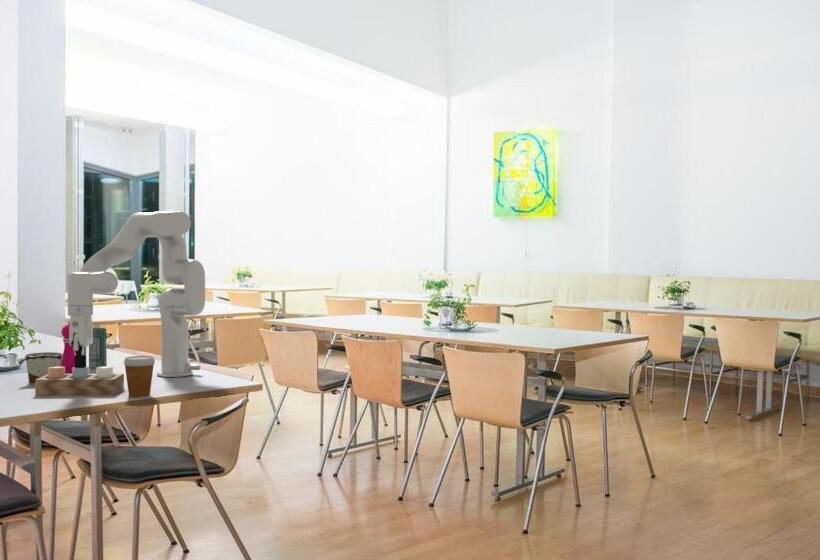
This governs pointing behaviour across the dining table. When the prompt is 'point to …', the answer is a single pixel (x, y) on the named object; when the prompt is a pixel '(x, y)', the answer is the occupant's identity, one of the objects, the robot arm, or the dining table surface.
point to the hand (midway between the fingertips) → (80, 367)
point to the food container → (41, 364)
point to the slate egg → (80, 372)
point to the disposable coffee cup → (139, 375)
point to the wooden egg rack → (79, 385)
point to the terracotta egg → (56, 372)
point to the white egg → (104, 372)
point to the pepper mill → (67, 351)
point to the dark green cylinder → (98, 349)
